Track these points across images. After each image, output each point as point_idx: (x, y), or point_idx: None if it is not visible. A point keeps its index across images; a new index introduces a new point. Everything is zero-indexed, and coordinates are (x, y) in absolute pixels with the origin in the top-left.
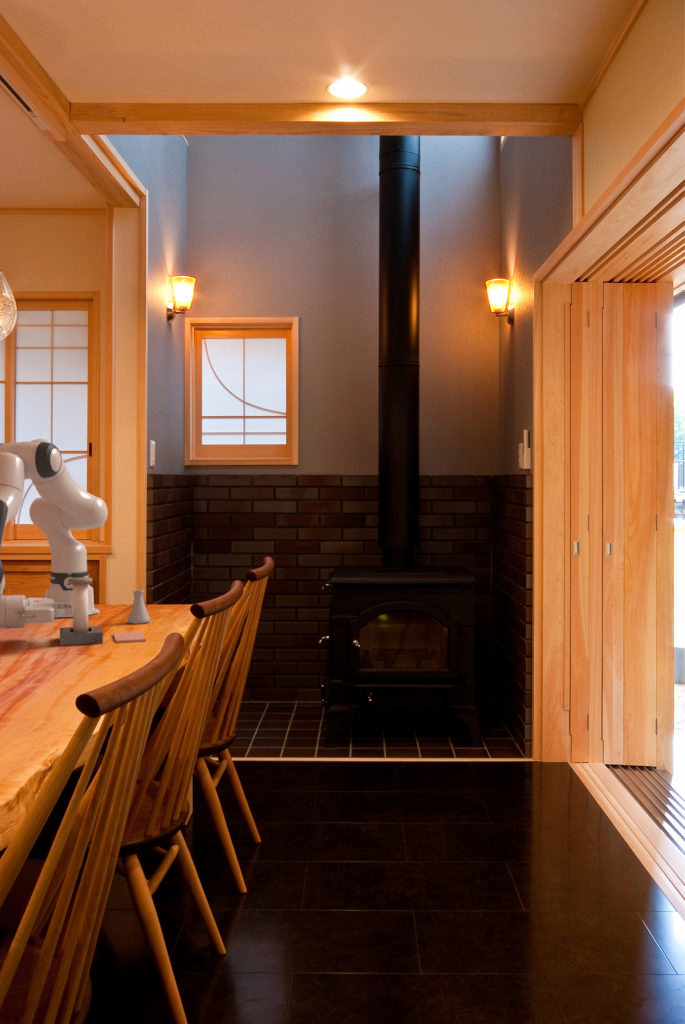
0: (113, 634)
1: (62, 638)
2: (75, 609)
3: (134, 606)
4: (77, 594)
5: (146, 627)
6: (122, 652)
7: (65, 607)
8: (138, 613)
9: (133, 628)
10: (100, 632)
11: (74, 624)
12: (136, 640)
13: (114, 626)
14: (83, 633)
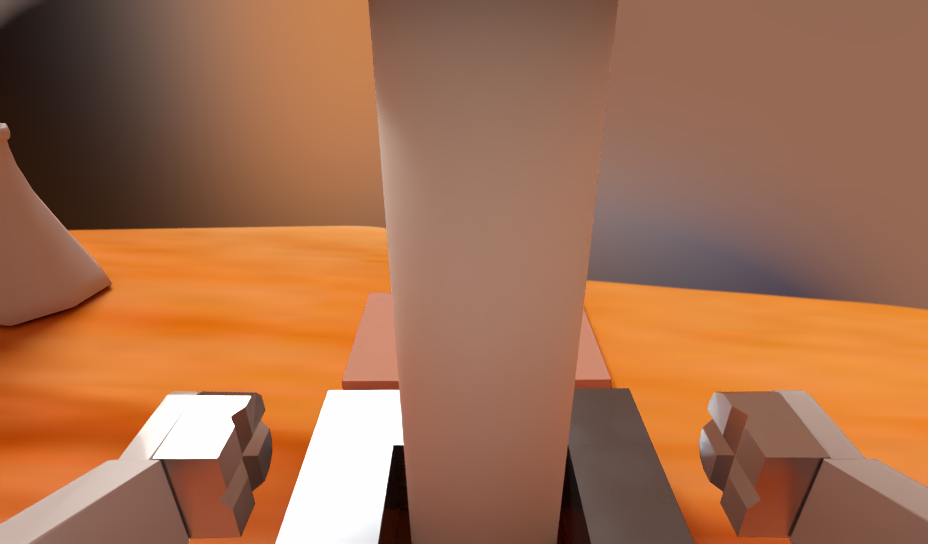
0: (372, 383)
1: None
2: (559, 380)
3: (10, 223)
4: (596, 166)
5: (213, 284)
6: (897, 379)
7: (229, 492)
8: (60, 249)
9: (194, 316)
10: (632, 399)
11: (533, 532)
12: (586, 318)
13: (35, 375)
14: (676, 505)
